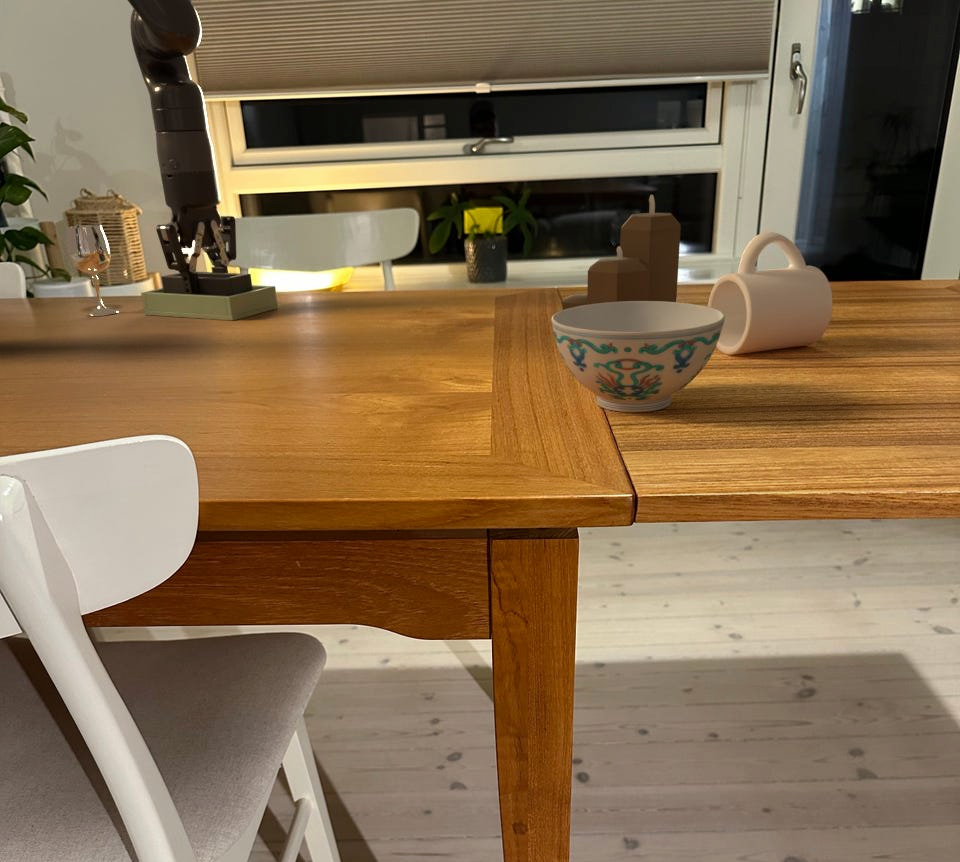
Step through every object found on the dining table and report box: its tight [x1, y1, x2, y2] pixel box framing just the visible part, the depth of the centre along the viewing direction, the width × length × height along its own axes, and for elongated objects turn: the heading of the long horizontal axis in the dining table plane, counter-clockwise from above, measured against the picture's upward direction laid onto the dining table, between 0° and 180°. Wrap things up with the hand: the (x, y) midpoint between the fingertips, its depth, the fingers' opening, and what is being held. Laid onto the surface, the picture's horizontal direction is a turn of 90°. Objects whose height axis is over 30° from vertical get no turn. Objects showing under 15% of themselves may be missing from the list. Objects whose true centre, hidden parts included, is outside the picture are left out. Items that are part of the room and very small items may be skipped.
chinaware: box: [551, 301, 725, 413], centre depth 86 cm, size 15×15×8 cm
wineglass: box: [66, 224, 119, 317], centre depth 140 cm, size 6×6×12 cm
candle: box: [561, 194, 682, 311], centre depth 113 cm, size 14×14×15 cm
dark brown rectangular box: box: [160, 271, 253, 296], centre depth 139 cm, size 12×6×4 cm, turn 63°
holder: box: [140, 284, 279, 322], centre depth 140 cm, size 17×10×3 cm, turn 63°
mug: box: [707, 231, 834, 356], centre depth 102 cm, size 8×10×12 cm
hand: (208, 296), depth 139 cm, fingers closed on dark brown rectangular box, 5 cm apart
